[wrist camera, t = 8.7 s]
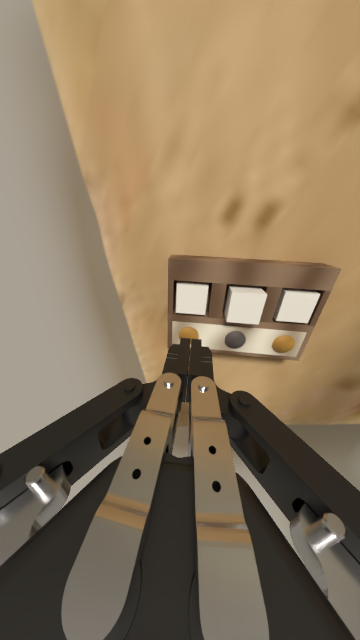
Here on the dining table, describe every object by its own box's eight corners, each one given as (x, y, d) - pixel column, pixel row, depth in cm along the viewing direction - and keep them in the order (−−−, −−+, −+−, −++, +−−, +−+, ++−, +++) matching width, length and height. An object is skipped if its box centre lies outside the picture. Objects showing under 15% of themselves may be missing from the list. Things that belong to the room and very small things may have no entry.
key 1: (207, 280, 22) (208, 286, 20) (204, 306, 24) (205, 315, 22) (179, 278, 22) (176, 284, 20) (178, 304, 24) (175, 312, 22)
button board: (323, 263, 21) (343, 269, 18) (288, 347, 26) (299, 362, 23) (172, 254, 22) (168, 259, 19) (170, 336, 27) (167, 349, 25)
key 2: (308, 287, 21) (320, 294, 19) (297, 313, 23) (307, 323, 21) (277, 285, 22) (285, 291, 19) (268, 311, 23) (276, 320, 21)
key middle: (260, 287, 21) (267, 294, 18) (252, 314, 22) (258, 324, 20) (228, 284, 21) (232, 292, 19) (223, 312, 22) (226, 322, 20)
